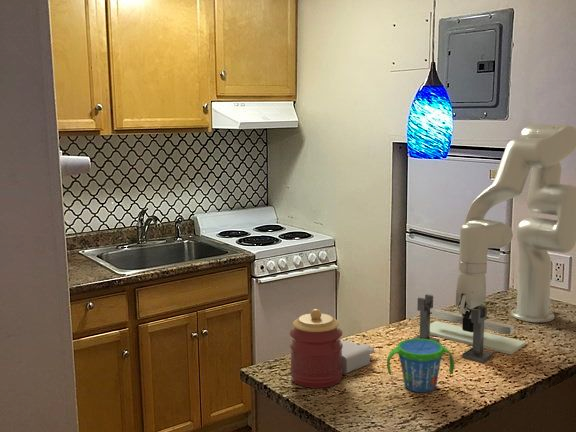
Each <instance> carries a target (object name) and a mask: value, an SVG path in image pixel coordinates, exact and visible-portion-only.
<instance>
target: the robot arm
mask: <svg viewBox="0 0 576 432" xmlns="http://www.w3.org/2000/svg"><path fill="white" fill-rule="evenodd" d="M504 148H505V149H504V151H503V153H502V156H501V159H500V163H499V164H498V167H497V170H496V173H495V176H494V179H493V182H492V184H490V185H489V186H488V187H487V188H486V189H484V190H483V191H482V192H480V194H479V195H477V197H476V198H475V199H474V200H473V201H472V202H471V204H470V206H469V207H468V210H467V212H466V215H465V217H464V221H463V224H462V225H461V226H460V229H459V257H458V258H459V260H458V261H459V263H458V266H459V267H458V272H459V273H458V276H457V282H456V287H455V288H456V290H455V301H454V303H455V304H454V305H455V306H456V307H457V308H459V309H458V314H462V317H463V324H461V325H462V326H461V327H462V330H463V331H468V332H473V325H474V323H472V322H471V309H478V306H479V305H483V304H484V303H485V301H486V296H487V281H486V280H487V278H486V274H487V269H488V267H487V266H488V249H503V248H504V247H507V246H508V245H509V244H510V243H511V242H512V240H513V237H514V233H513V229H512V227H511V226H510V225H509V224H507V223H505V222H503V221H497V220H492V219H485V216H486V215H487V214H488V212H489V211H490V210H491V209H492V208H493V207H495V206H497V205H498V204H501V203H503V202H505V201H508V200H511V199H514V198H516V197H518V196H520V195H521V194H522V193H523V191H524V188H525V184H526V181H527V179H528V176H529V173H530V179H529V186H528V190H527V191H528V193H527V200H526V205H527V208H528V210H530V211H531V212H534V213H535V214H542V215H550V216H557V220H556V219H551V218H544V217H535V216H534V217H533V216H532V217H531V216H530V217H526V218H523V219H522V220H521V221H520V222H519V223H518V225H517V227H516V239H517V244H518V245H517V246H518V275H517V295H516V296H517V297H516V301H517V302H516V308H513V309H512V310H511V316H512V317H513V318H515V319H517V320H520V321H523V322H528V323H529V322H530V323H548V322H551V321H553V320H555V314H554V312H552V311H550V305H551V304H552V302H551V299H550V297H551V283H552V281H551V278H552V260H551V257H550V254H549V253H548V252H554V253H558V254H566V253H570V252H571V251H572V250H573V249H574V248H575V246H576V186H574V185H570V184H564V183H563V184H562V183H561V177H562V166H561V165H562V164H561V161H562V160H564V159H565V158H566V157H568V156H570V155H571V154H572V153H573V152H574V151H575V150H576V128H575V127H574V126H573V125H569V124H531V125H527V126H525V127H523V129H522V130H521V132H520V137H518V138H513V139H511V140H510V141H508V143H507V144H506V146H505V147H504ZM530 170H531V172H530Z"/></svg>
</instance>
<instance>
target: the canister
mask: <svg viewBox="0 0 576 432" xmlns="http://www.w3.org/2000/svg"><path fill="white" fill-rule="evenodd" d="M292 326H293V327H292V328H291V329H290V330H289V336H290V337H291V342H290V344H289V348H290V368H289V371H290V372H289V374H290V378H291V380H292V381H293V383H295V384H297V385H299V386H301V387H304V388H309V389H310V388H311V389H321V388H328V387H329V388H330V387H331V386H335V385H337V384H339V383H340V382H341V381H342V378H343V374H344V373H343V368H342V347H343V345H342V343H341V342H342V341H341V338H342V336H343V330H342V329H341V328H340V327H339V326H340V322H339V320H337V319H336V318H334V317H333V316H332V315H330V314H326V313H322V312H321V310H320V309H318V308H313V309H312V310H311V312H310V313H305V314H302V315H300V316H299V317H298V318H296V319H295V320H293V322H292Z"/></svg>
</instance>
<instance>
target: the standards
mask: <svg viewBox="0 0 576 432" xmlns="http://www.w3.org/2000/svg"><path fill="white" fill-rule="evenodd" d="M433 308H434V295H432V294H425V295H424V297H418V298H417V309H416V310H417V311H419V312H420V313H419V329H420V332H419V335H417V336H415V337H413V338H412V339H428V340H433V341H436V342H438V343H440V338H438V337H432V336H431V335H430V324H431V309H433ZM484 320H488V306H486V305H483V304H482V305H479V306H478V309H471V322H472V323H474V325H473V345H472V347H471V348H470V349H467V350H466V351H464V352H462V354H461V358H463V359H467V360H471V361H474V362H478V363H482V364H484V363H486V362H487V361H489V360H490V359H492V358H493V357H494V355H495V354H494V353H495V352H492V351H488V350H484V348H483V342H484V332H485V329H484Z"/></svg>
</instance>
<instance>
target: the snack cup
mask: <svg viewBox="0 0 576 432" xmlns="http://www.w3.org/2000/svg"><path fill="white" fill-rule="evenodd" d="M444 353H446V354H448V356H449V369H448V373H450V374H453V372H454V369H455V361H454V356H453V354H452V353H451V352H450V350H449V349H448V348H447V347H445V346H444V345H442V344H441V343H440V342H439V343H438V342H436V341H433V340H428V339H413V338H409V339H405V340H402V341H400V342H399V343H398V345H397V346H396V347H395V348H393V349H391V351H390V352H389V354H388V356H387V359H386V367H387V372H388V374H389V376H391V374H392V371H391V364H390V361H391V359H392V358H393V356H394V355H395V354H398V358H399V362H400V366H401V372H402V373H401V374H402V379H403V383H404V386H405V388H407V389H409V390H410V391H412V392H415V393H426V392H433V391H434V389H435V388H436V387H437V384H438V380H439V373H440V367H441V361H442V358H443V355H444Z"/></svg>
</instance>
